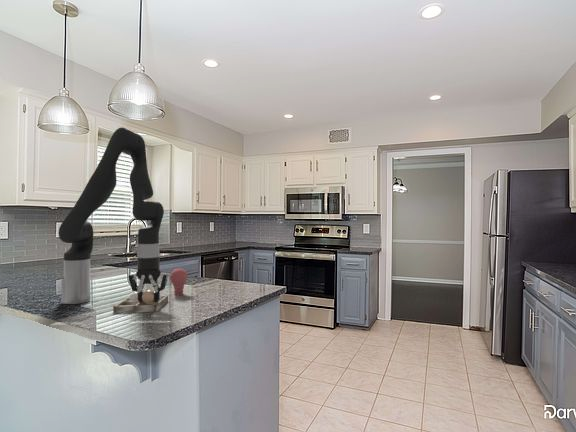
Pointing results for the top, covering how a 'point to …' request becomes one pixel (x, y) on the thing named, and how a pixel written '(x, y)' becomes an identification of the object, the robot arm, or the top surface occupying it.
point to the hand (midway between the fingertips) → (148, 301)
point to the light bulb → (178, 280)
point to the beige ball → (148, 296)
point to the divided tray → (139, 306)
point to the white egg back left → (133, 296)
